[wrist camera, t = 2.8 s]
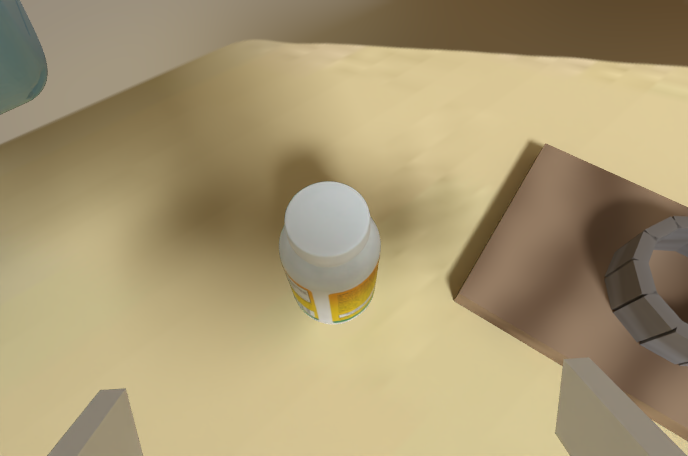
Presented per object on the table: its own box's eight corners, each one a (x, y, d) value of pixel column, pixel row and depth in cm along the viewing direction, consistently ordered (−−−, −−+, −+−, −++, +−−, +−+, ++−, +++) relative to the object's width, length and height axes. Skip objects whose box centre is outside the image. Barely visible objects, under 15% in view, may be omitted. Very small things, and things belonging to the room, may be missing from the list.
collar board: (453, 300, 27) (471, 275, 23) (537, 155, 32) (563, 115, 28) (848, 537, 21) (966, 559, 17) (873, 310, 26) (967, 286, 22)
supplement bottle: (285, 318, 27) (252, 258, 18) (305, 244, 29) (284, 161, 20) (368, 333, 26) (374, 280, 17) (380, 256, 28) (392, 177, 20)
